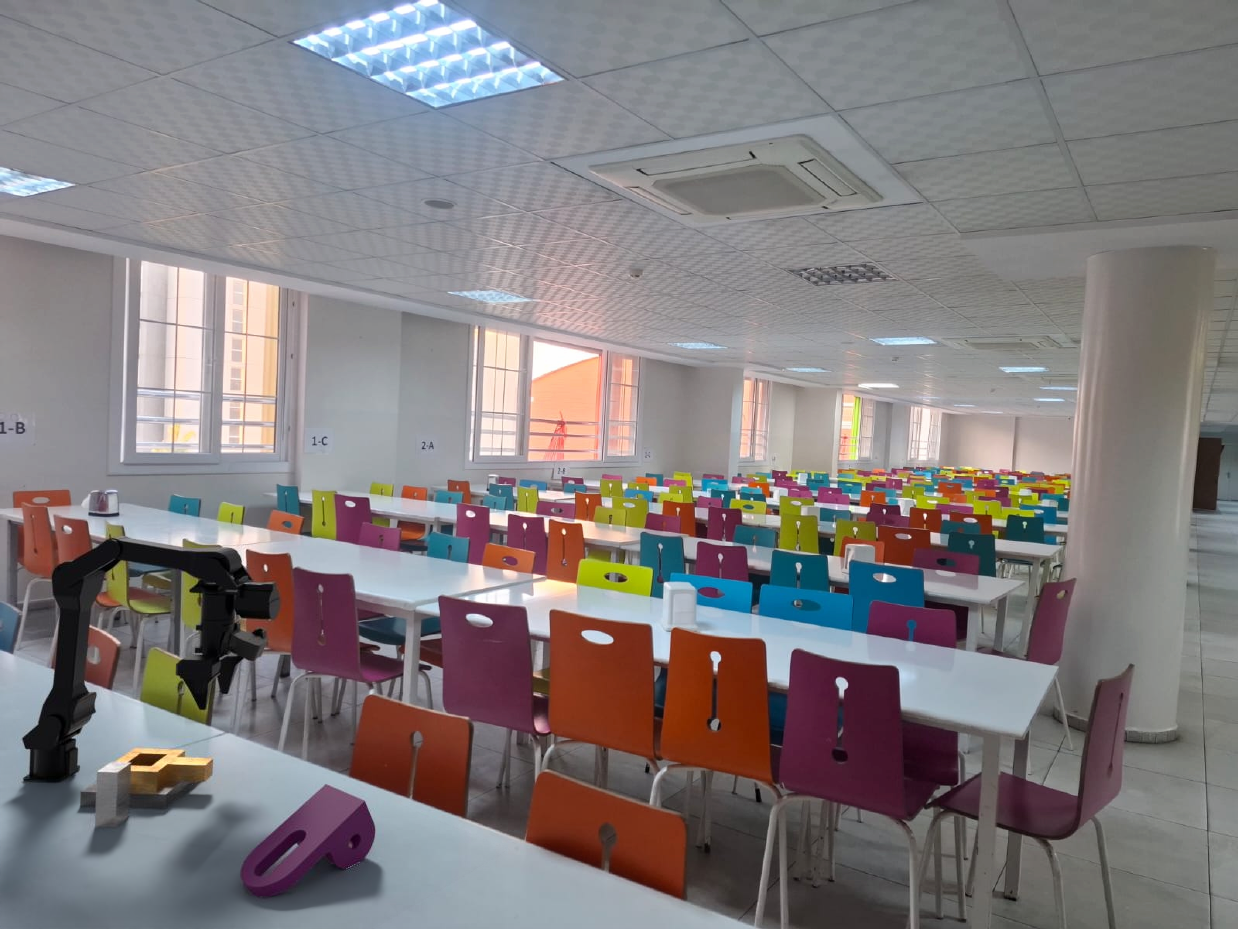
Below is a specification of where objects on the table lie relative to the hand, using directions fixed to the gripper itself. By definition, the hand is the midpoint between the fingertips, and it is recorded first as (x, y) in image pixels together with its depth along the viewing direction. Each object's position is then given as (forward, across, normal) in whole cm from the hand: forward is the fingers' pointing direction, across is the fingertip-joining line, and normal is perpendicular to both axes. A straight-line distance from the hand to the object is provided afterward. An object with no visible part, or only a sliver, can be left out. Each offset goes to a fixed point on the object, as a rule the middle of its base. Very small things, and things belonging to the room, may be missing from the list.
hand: (214, 701), depth 151 cm
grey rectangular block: (+15, -17, +8) cm, 24 cm away
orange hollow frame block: (+15, -5, +7) cm, 17 cm away
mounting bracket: (+15, -30, -27) cm, 43 cm away
